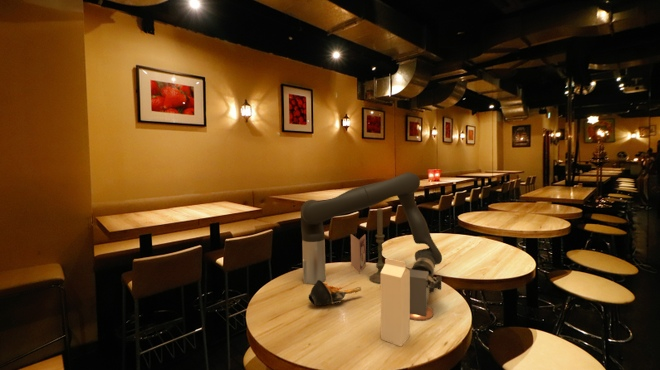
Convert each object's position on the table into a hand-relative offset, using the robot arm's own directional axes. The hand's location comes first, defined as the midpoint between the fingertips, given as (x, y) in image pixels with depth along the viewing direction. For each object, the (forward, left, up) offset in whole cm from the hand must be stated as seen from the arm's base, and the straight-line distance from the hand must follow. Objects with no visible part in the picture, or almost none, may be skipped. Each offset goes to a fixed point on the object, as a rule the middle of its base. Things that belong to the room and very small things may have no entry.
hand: (415, 288), depth 94 cm
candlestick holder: (-3, +30, -9) cm, 31 cm away
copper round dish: (+1, +2, -9) cm, 9 cm away
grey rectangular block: (+1, +2, -8) cm, 8 cm away
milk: (-10, -11, -9) cm, 17 cm away
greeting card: (-10, +44, -9) cm, 46 cm away
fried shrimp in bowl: (-24, +13, -9) cm, 29 cm away
